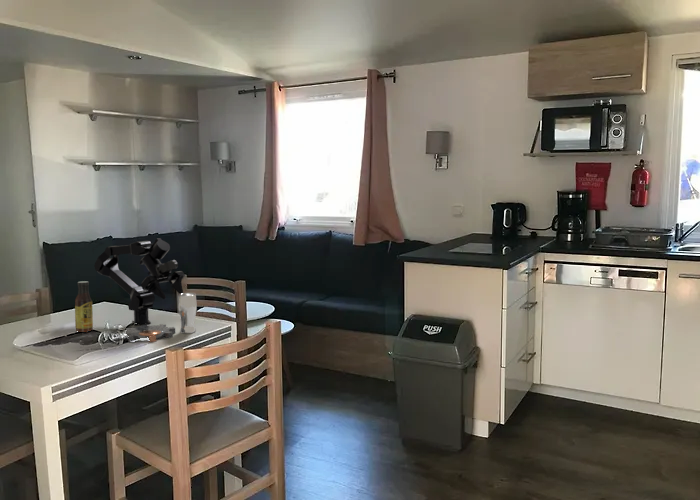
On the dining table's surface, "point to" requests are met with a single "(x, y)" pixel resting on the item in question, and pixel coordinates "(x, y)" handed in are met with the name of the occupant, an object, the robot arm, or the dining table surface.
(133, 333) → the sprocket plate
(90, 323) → the sauce bottle
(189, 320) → the beer glass
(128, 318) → the dining table surface
